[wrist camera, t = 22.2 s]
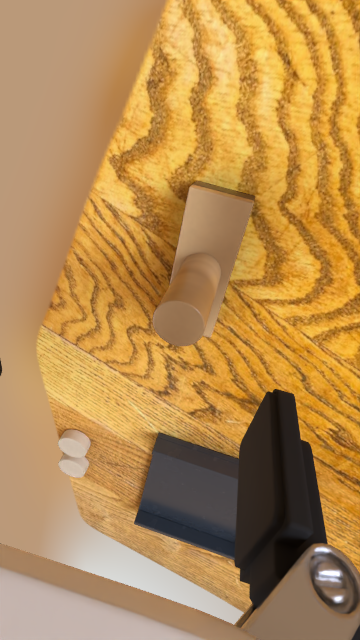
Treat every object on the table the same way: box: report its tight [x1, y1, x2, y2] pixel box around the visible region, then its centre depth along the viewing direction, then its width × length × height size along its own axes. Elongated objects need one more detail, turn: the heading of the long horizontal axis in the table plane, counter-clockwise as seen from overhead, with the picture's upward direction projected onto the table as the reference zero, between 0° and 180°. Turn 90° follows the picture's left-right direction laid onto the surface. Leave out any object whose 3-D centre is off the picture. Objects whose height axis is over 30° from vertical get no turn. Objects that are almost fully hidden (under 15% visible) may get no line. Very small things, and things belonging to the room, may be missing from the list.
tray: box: [134, 433, 239, 560], centre depth 34 cm, size 14×15×2 cm
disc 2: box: [59, 453, 89, 478], centre depth 37 cm, size 3×3×1 cm
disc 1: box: [58, 429, 91, 458], centre depth 35 cm, size 3×3×1 cm
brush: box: [153, 181, 255, 346], centre depth 18 cm, size 4×9×8 cm, turn 169°
